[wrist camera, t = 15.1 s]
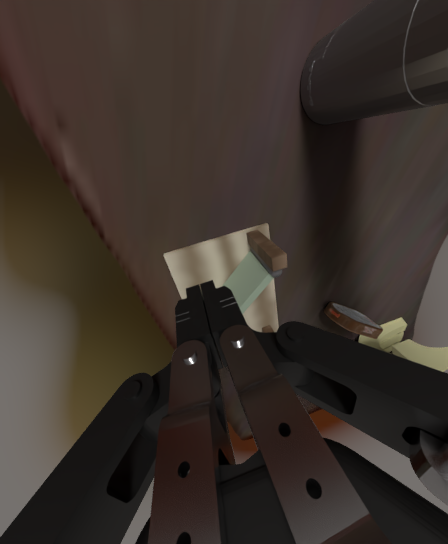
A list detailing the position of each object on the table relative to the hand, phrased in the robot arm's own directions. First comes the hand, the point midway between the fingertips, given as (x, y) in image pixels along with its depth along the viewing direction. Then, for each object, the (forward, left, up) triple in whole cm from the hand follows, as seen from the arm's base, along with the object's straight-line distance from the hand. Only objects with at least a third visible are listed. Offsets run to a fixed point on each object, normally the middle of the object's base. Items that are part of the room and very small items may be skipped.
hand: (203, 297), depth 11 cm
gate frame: (-4, +20, -23) cm, 31 cm away
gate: (-3, +16, -22) cm, 27 cm away
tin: (-30, +34, -23) cm, 51 cm away
